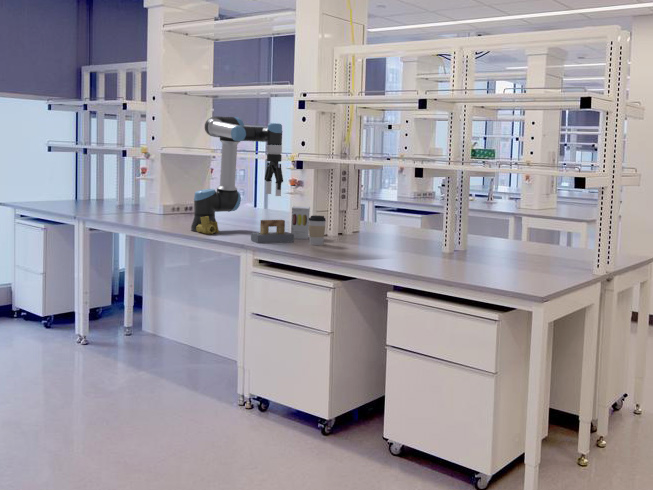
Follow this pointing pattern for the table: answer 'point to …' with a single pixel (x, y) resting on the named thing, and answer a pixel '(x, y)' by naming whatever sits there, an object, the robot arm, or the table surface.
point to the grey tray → (272, 237)
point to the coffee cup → (316, 230)
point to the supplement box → (300, 222)
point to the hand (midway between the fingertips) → (273, 195)
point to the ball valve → (207, 226)
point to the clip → (271, 223)
